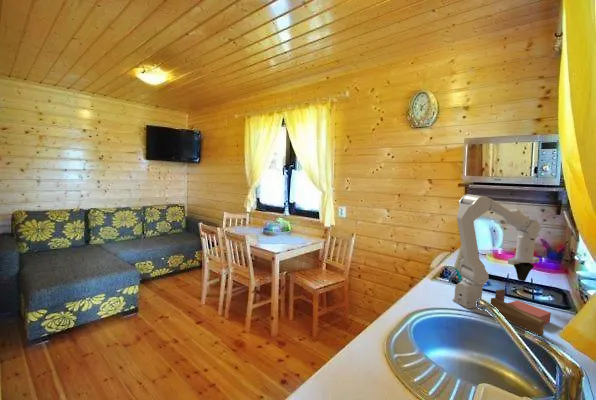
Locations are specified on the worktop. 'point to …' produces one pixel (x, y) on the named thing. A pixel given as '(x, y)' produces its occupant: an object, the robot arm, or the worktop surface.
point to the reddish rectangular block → (532, 310)
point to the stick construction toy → (457, 275)
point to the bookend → (500, 294)
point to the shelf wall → (519, 316)
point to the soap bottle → (459, 259)
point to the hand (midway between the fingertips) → (521, 280)
